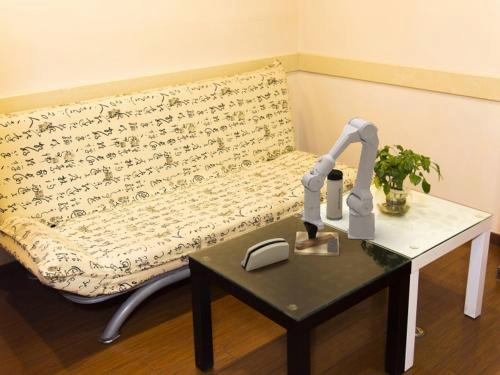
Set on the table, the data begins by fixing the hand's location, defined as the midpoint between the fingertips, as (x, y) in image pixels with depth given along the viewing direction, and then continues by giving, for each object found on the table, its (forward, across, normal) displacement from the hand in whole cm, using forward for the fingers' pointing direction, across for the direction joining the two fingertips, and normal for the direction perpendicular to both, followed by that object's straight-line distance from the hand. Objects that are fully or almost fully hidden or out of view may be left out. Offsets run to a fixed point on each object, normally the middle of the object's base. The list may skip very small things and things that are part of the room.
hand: (312, 240), depth 212 cm
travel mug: (+2, -18, +19) cm, 26 cm away
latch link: (0, +2, 0) cm, 2 cm away
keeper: (+2, +8, +4) cm, 9 cm away
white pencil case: (+2, +7, -20) cm, 22 cm away
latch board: (+2, +1, +2) cm, 2 cm away
